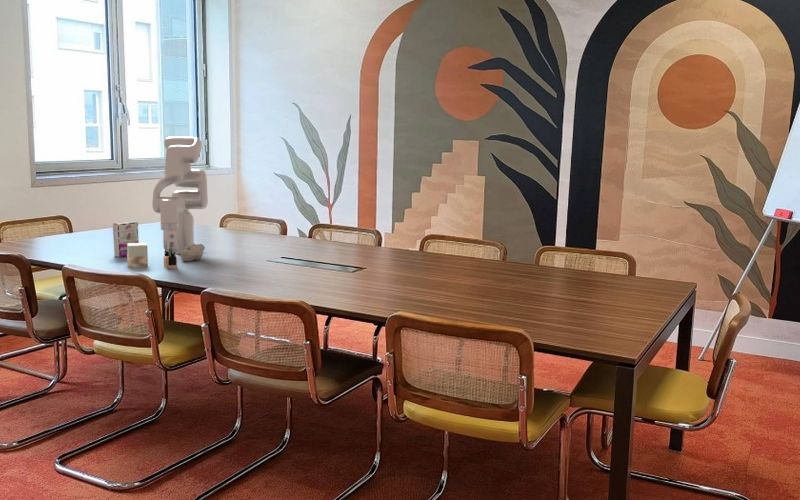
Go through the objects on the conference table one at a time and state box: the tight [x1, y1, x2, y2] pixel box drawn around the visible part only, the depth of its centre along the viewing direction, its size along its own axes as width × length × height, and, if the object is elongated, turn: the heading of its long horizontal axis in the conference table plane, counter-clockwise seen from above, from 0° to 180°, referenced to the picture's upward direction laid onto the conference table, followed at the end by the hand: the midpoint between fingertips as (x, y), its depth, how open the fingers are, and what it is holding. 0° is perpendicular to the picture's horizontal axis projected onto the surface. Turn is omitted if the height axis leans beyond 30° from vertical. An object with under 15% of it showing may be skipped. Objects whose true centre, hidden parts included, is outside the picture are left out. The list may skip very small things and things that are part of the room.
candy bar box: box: [112, 220, 140, 258], centre depth 383 cm, size 11×5×16 cm, turn 143°
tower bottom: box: [126, 254, 149, 268], centre depth 360 cm, size 8×8×5 cm
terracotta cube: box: [163, 255, 178, 269], centre depth 357 cm, size 5×5×5 cm
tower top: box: [127, 242, 149, 257], centre depth 360 cm, size 8×8×5 cm
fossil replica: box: [180, 243, 206, 262], centre depth 376 cm, size 12×8×10 cm
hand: (170, 263), depth 357 cm, fingers open, 9 cm apart
